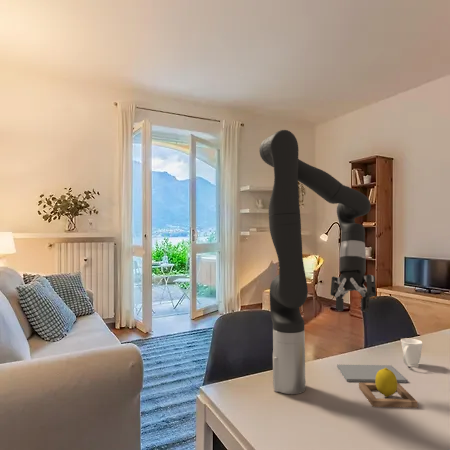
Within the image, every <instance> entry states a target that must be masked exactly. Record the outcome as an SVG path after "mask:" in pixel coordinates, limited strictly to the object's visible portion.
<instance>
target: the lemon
mask: <svg viewBox="0 0 450 450" xmlns="http://www.w3.org/2000/svg"><path fill="white" fill-rule="evenodd" d="M374 383H376V387H377V389H378V390H377V391H378V392H379V393H380V394H381V395H383V396H384V397H385V398H389V397H390V396H393V395H394V394H396V393H397V391H396V390H397V383H398V382H397V379H396V376H395V374H394V373H393V372H392V371H391V370H389V369H387V368H384V369H381V370H379V371H378V372H377V374H376V379H375V382H374Z"/></svg>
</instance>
